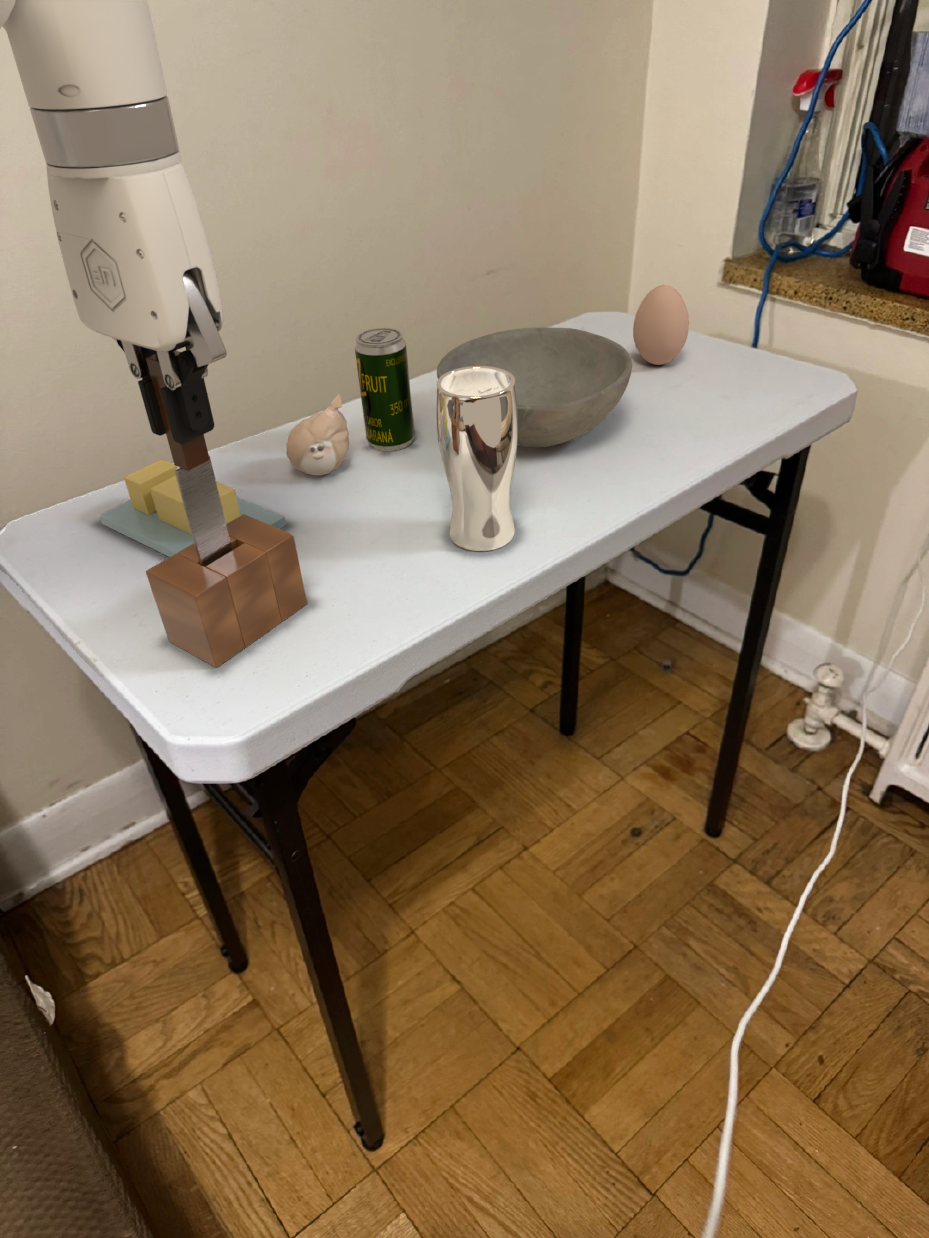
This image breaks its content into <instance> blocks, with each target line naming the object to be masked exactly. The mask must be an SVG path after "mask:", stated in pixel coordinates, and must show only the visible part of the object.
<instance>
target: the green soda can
mask: <svg viewBox="0 0 929 1238" xmlns="http://www.w3.org/2000/svg"><path fill="white" fill-rule="evenodd" d="M407 349H408V348H407V342H406V341H405V339H404V333H403V332H402V331H401V330H400V329H397V328H392V327H376V328H370V329H367V330H363V331H361V332H359V333H358V334H357V335H356V336H355V346H354V355H355V360H356V361H355V363H356V369H357V375H358V385H359V392H360V400H361V407H362V414H363V415H362V416H363V422H364V423H363V424H364V430H365V431H364V432H365V438H366V440H367V442H368V444H369V446H370V448H372V449H374V450H376V451H380V452H396V451H400V450H403V449H406V448H407V447H409V446H410V445H412V442H413V440H414V438H415V425H414V413H413V403H412V393H411V380H410V373H409V372H410V371H409V363H408V362H409V361H408V352H407V351H408V350H407Z"/></svg>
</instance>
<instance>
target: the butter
mask: <svg viewBox="0 0 929 1238" xmlns="http://www.w3.org/2000/svg"><path fill="white" fill-rule="evenodd" d="M216 484H217V488H218V492H219V496H220V501H221V505H222V509H223V513H224V517H225V521H226V524H227V523H229V522H231V521H233V520H234V519H236V518H238V517H239V516H241V514H240V510H239V506H238V502H237V498H236V497H237V494H236V489H235V487H232V486H229V485H227V484H225V483H222V482H219V481H217V480H216ZM150 492H151V495H152V498H153V501H154V504H155V508H156V511H157V514H158V517H159V520H160V521H162V522H165V523H167V524H169V525H171V526H173V527H176V528H178V529H180V530H182V531H184V532H187V533H189V534H191V535H192V533H191V530H190V526H189V522H188V519H187V515H186V511H185V508H184V504H183V500H182V497H181V493H180V489H179V485H178V482H177V478H176V476H174V477H172V478H170V479H168V480H166V481H164V482H162V483H160V484H158V485H156V486H154V487H152V488H150Z"/></svg>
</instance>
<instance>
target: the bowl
mask: <svg viewBox="0 0 929 1238" xmlns="http://www.w3.org/2000/svg"><path fill="white" fill-rule="evenodd" d="M470 366H489V367H496V368H500V369H503V370H506V371H508V372H510V373H511V374H512V375H513V376H514V378H515V389H516V399H517V410H518V445H517V446H520V447H526V448H547V447H553V446H557V445H560V444H561V445H562V444H563V443H566V442H569V441H572V440H575V439H577V438H579V437H582V436H585V434H587V433H588V432H590V431H591V430H593V429H594V428H596V427H597V426H599V424H601V422H603V421H604V420H605V419H606V418H607V416H608V415H609V414H610V413H611V412H612V411H613V410H614V409H615V407H616V406H617V405H618V403H619V402H620V401H621V399H622V398H623V395H624V394H625V392H626V390H627V387H628V385H629V383H630V379H631V375H632V371H633V360H632V357H631V355H630V353H629V352H628V350H627V349H626V348H625V347H624V346H623V345H621V344H619V342H617V341H614V340H613V339H610V338H607V337H605V336H602V335H600V334H596V333H592V332H589V331H586V330H582V329H577V328H571V327H523V328H522V327H521V328H514V329H507V330H502V331H498V332H494V333H489V334H486V335H482V336H479V337H476V338H473V339H471V340H468V341H466V342H464V343H462V344H460V345H457V346H456V347H454V348H452V349H451V350H450V351H448V352H447V353H446V354H445V355H444V356H443V357H442V358H441V360H440V361H439V363H438V365H437V367H436V377H437V380H438V379H439V378H440V377H441V376H442V375H443V374H445V373H447V372H449V371H452V370H455V369H458V368H463V367H470Z"/></svg>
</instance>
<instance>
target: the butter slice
mask: <svg viewBox="0 0 929 1238" xmlns="http://www.w3.org/2000/svg"><path fill="white" fill-rule="evenodd" d="M177 469H178V467H177V466H175V465H174V463H171V462H169V461H166V460H165V459H162V458H161V459H158V460H157V461H154V462H153V463H151V464H149V465H145V466H144V467H143V468H140V469H138V470H136V471H134V472H132V473H129V474H128V475H126V476H124V477H123V480H124V483H125V486H126V488H127V493H128V495H129V498H130V499H131V501H132V504H133V507H134V509H136V510H138V511H141V512H143V513H145V514H147V515H150V514H152V513H154V512H156V508H155V504H154V501H153V498H152V495H151V492H150V488H152V487H154V486H156V485H158V484H160V483H162V482H164V481H166V480H168V479H170V478H172V477H174V476H176V474H175V470H177Z"/></svg>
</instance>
